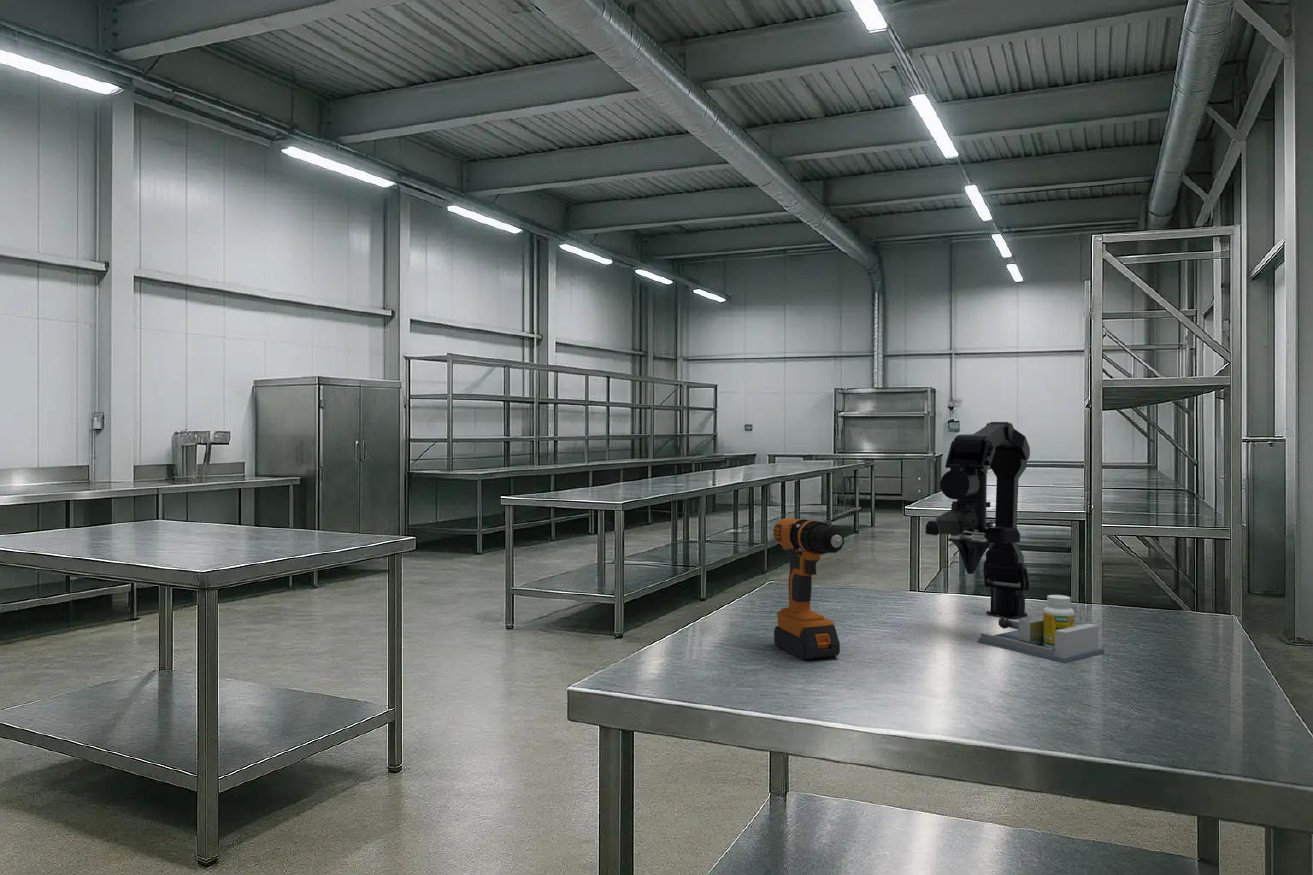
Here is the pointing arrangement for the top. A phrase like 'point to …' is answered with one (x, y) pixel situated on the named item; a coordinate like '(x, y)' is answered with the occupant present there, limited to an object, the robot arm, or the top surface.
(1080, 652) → the vise base
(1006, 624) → the sliding jaw
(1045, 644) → the supplement bottle
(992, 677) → the top surface
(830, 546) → the power drill
